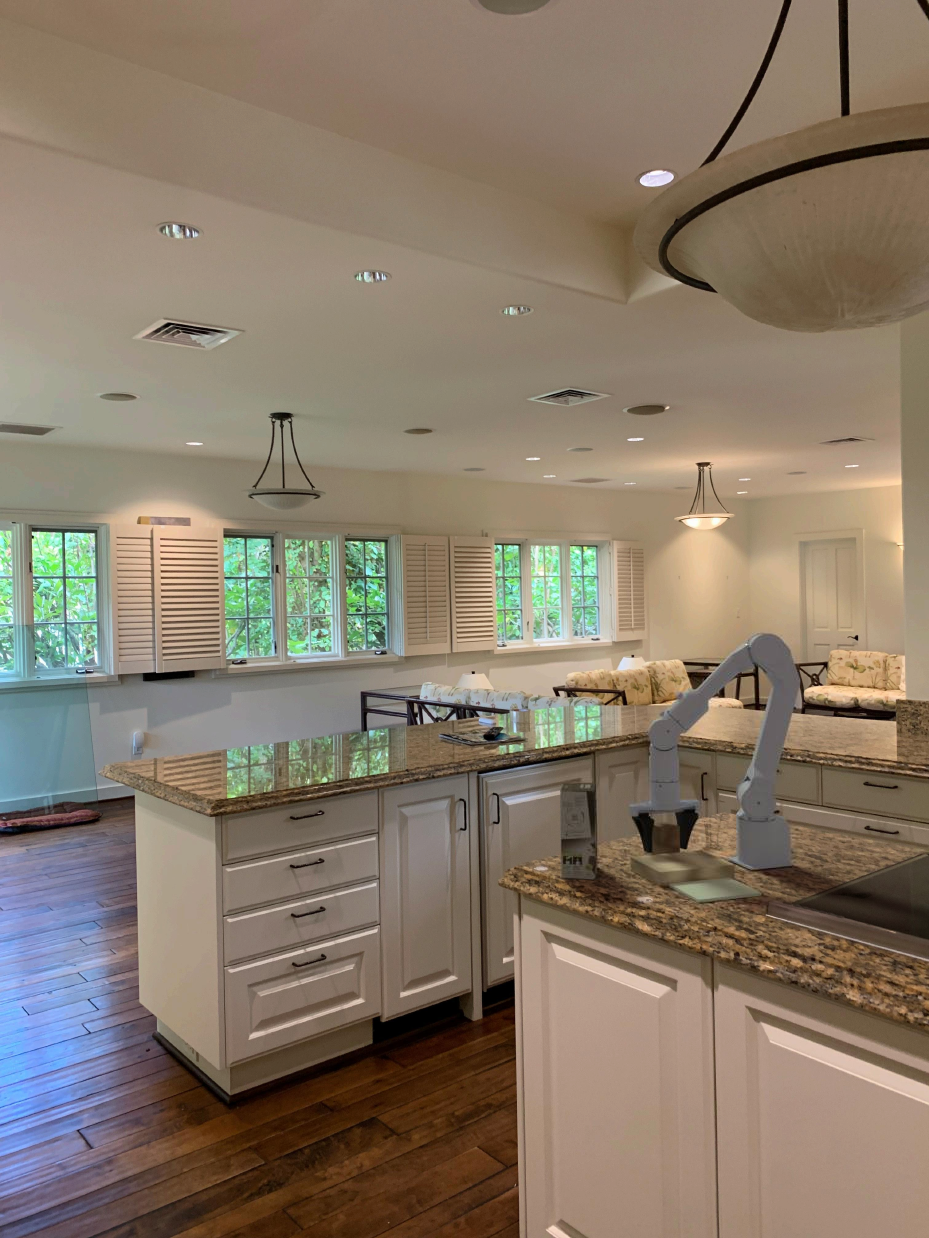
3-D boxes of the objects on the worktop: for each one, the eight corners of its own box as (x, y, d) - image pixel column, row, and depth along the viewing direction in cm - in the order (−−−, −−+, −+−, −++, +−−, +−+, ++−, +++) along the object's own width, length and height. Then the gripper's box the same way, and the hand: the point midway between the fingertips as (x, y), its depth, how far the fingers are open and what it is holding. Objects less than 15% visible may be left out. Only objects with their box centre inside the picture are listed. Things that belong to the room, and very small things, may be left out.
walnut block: (669, 857, 174) (669, 821, 174) (680, 862, 170) (679, 826, 170) (651, 858, 173) (650, 823, 173) (661, 864, 169) (661, 827, 169)
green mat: (728, 879, 158) (728, 877, 158) (761, 895, 149) (761, 892, 149) (669, 886, 155) (669, 883, 155) (698, 902, 145) (698, 899, 145)
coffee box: (596, 880, 159) (594, 790, 160) (560, 878, 161) (559, 790, 161) (598, 866, 168) (597, 782, 168) (564, 865, 170) (563, 781, 170)
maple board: (701, 862, 169) (701, 849, 169) (734, 878, 159) (734, 864, 159) (631, 870, 165) (630, 856, 165) (660, 886, 155) (659, 872, 155)
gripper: (686, 774, 178) (687, 842, 178) (621, 779, 174) (622, 848, 174) (705, 780, 171) (706, 850, 171) (638, 785, 167) (639, 857, 167)
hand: (665, 850), depth 172 cm, fingers open, 7 cm apart
